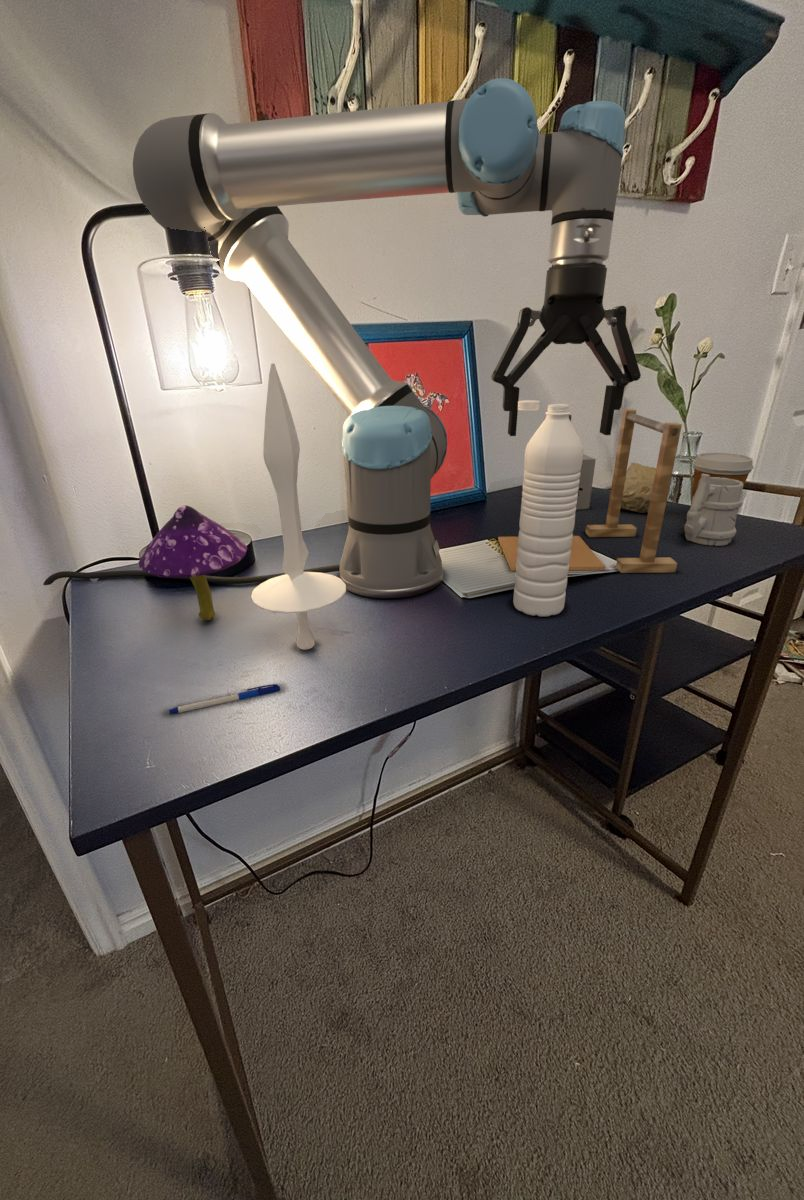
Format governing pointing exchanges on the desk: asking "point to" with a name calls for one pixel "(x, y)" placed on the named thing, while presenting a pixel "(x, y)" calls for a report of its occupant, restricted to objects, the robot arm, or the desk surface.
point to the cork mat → (578, 560)
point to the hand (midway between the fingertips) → (558, 434)
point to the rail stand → (657, 501)
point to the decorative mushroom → (192, 552)
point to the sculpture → (290, 524)
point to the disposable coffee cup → (721, 467)
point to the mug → (714, 511)
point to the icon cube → (585, 482)
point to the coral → (638, 488)
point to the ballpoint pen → (228, 698)
